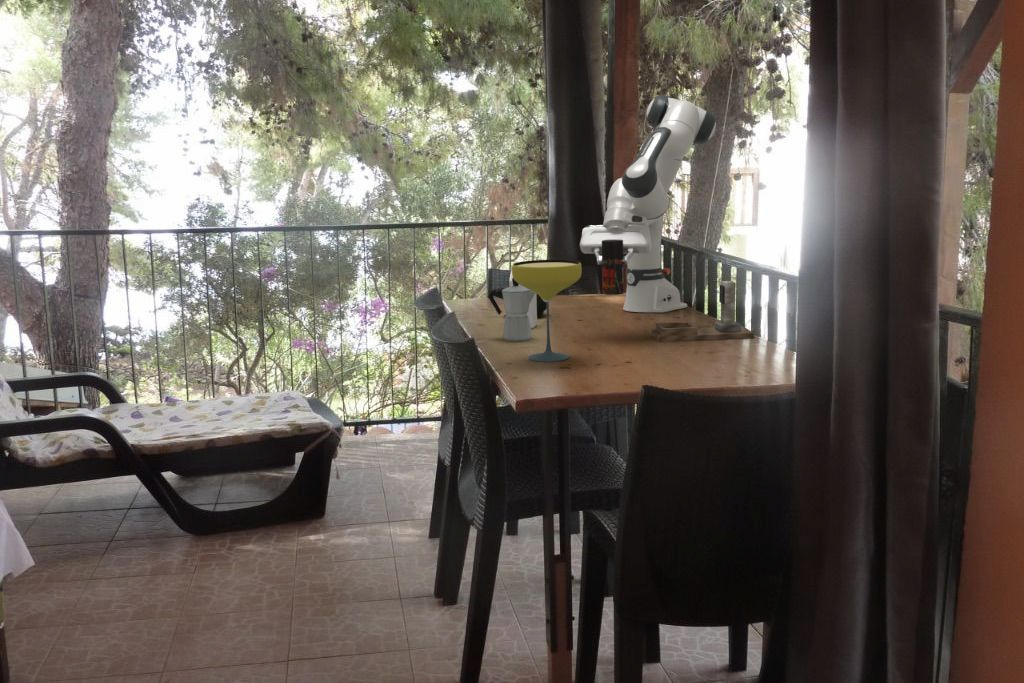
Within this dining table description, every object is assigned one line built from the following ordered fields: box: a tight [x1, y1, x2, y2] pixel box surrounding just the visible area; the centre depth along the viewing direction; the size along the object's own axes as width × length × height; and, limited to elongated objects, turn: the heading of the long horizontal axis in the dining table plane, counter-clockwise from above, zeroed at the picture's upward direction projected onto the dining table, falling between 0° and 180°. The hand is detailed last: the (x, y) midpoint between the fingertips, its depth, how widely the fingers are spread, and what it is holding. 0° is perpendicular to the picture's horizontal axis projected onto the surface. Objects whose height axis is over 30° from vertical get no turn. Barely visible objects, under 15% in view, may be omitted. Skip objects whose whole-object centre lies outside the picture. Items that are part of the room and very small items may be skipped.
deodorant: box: [601, 240, 625, 296], centre depth 273 cm, size 6×6×15 cm
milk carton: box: [508, 266, 538, 329], centre depth 300 cm, size 7×7×19 cm
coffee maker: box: [488, 278, 535, 342], centre depth 281 cm, size 15×9×18 cm, turn 71°
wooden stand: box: [651, 280, 755, 343], centre depth 276 cm, size 27×11×16 cm, turn 92°
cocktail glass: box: [512, 259, 583, 363], centre depth 253 cm, size 18×18×25 cm
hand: (612, 263), depth 272 cm, fingers closed on deodorant, 6 cm apart
